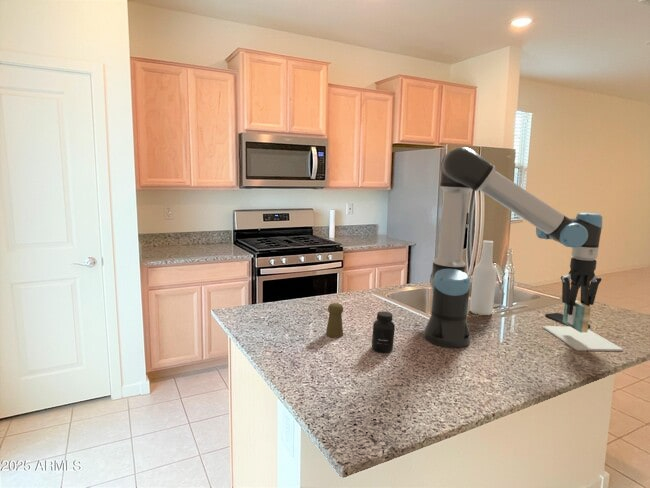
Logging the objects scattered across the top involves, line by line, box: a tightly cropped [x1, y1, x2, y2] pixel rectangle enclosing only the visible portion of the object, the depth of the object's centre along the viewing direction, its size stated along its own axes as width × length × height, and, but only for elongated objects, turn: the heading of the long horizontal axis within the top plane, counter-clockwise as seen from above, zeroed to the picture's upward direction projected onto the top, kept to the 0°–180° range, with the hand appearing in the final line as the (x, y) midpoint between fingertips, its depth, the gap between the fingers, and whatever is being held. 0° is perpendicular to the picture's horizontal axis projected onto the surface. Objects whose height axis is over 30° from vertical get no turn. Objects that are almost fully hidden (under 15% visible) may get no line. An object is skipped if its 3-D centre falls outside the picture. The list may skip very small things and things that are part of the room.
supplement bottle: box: [371, 310, 396, 354], centre depth 131 cm, size 7×7×12 cm
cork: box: [325, 302, 344, 339], centre depth 142 cm, size 6×6×11 cm
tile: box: [562, 299, 592, 333], centre depth 145 cm, size 10×2×9 cm, turn 3°
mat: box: [542, 325, 624, 352], centre depth 147 cm, size 16×20×1 cm
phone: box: [544, 312, 591, 329], centre depth 164 cm, size 8×1×15 cm
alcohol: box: [469, 239, 498, 316], centre depth 168 cm, size 9×9×30 cm
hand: (574, 323), depth 146 cm, fingers closed on tile, 2 cm apart
